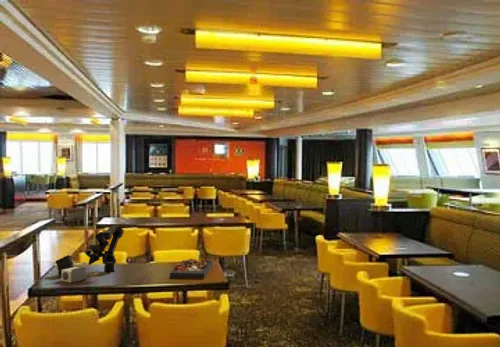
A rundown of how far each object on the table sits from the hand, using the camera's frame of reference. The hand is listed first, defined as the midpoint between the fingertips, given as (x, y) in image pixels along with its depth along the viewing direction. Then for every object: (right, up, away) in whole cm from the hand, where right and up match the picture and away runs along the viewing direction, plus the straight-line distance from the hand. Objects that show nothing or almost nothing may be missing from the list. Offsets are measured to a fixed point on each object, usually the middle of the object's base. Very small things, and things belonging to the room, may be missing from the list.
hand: (88, 264), depth 354 cm
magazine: (-21, -10, +10) cm, 25 cm away
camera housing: (-10, -10, -4) cm, 14 cm away
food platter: (+71, -11, +24) cm, 76 cm away
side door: (-5, -10, -7) cm, 13 cm away
